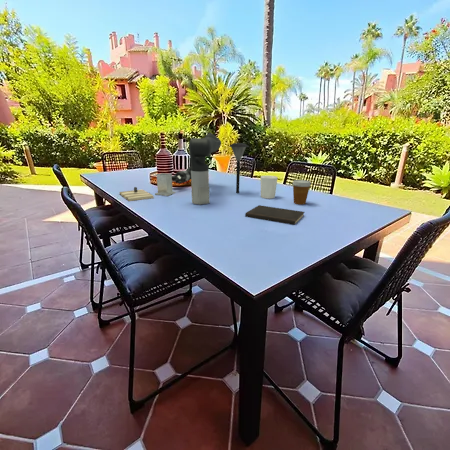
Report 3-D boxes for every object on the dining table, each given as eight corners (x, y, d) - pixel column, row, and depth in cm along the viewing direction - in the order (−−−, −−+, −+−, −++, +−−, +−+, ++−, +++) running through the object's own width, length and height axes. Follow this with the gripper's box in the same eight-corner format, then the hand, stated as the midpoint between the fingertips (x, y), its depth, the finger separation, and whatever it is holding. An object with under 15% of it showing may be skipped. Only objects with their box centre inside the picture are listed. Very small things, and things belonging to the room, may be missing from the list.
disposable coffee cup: (288, 204, 146) (290, 181, 142) (293, 200, 154) (295, 179, 150) (306, 206, 142) (309, 183, 138) (310, 202, 149) (312, 180, 146)
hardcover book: (258, 209, 137) (258, 205, 136) (304, 216, 126) (304, 211, 126) (245, 217, 124) (245, 213, 123) (294, 226, 113) (295, 221, 113)
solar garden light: (247, 191, 175) (249, 143, 165) (247, 195, 164) (249, 144, 154) (228, 190, 176) (229, 142, 166) (227, 195, 165) (227, 143, 155)
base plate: (153, 198, 156) (152, 188, 154) (128, 201, 148) (127, 191, 147) (142, 191, 171) (141, 183, 170) (119, 194, 164) (118, 185, 162)
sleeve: (175, 192, 169) (174, 173, 165) (168, 195, 161) (166, 175, 157) (162, 191, 172) (161, 172, 168) (155, 194, 164) (153, 174, 160)
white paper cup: (277, 199, 156) (278, 178, 152) (260, 198, 156) (261, 178, 152) (274, 195, 165) (276, 175, 161) (258, 195, 165) (259, 175, 161)
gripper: (172, 170, 185) (159, 174, 171) (191, 172, 181) (179, 175, 167) (173, 181, 188) (160, 185, 173) (191, 183, 183) (180, 187, 169)
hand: (170, 180), depth 170 cm, fingers open, 8 cm apart
